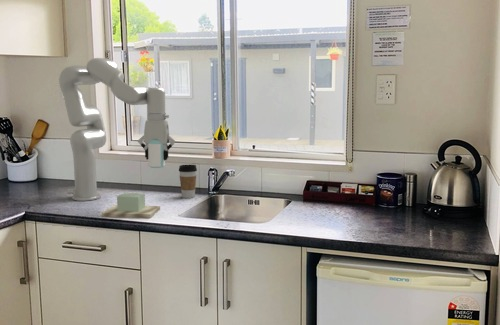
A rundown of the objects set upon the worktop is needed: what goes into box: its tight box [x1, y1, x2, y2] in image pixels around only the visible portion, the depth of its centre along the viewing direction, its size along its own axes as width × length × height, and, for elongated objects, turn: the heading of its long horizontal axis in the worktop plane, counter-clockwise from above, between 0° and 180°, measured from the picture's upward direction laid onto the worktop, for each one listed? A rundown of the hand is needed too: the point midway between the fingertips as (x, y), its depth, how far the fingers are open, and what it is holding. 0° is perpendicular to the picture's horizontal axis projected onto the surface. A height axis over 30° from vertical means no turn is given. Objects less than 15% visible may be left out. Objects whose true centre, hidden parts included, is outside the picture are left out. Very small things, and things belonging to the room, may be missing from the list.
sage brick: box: [116, 192, 146, 212], centre depth 224 cm, size 9×7×6 cm
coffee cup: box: [178, 164, 198, 199], centre depth 254 cm, size 8×8×15 cm
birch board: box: [101, 204, 161, 219], centre depth 224 cm, size 20×14×2 cm
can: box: [147, 139, 166, 169], centre depth 232 cm, size 7×7×12 cm
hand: (156, 159), depth 232 cm, fingers closed on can, 7 cm apart
